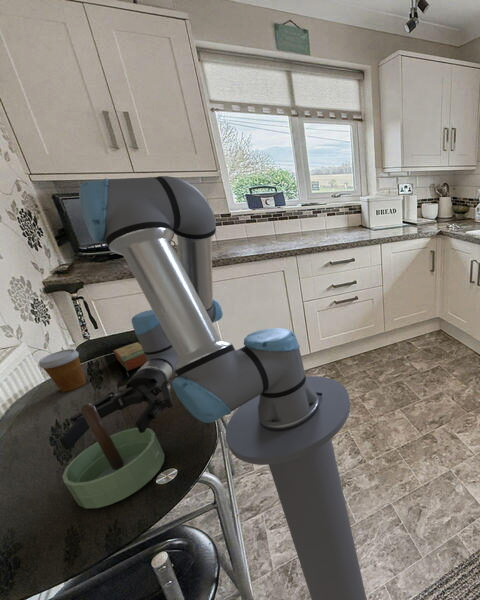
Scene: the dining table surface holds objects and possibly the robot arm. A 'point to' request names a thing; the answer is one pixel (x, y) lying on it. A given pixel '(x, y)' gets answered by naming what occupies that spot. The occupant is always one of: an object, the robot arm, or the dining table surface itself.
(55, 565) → the dining table surface
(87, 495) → the bowl
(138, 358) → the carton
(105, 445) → the wooden peg on disc
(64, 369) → the disposable coffee cup
